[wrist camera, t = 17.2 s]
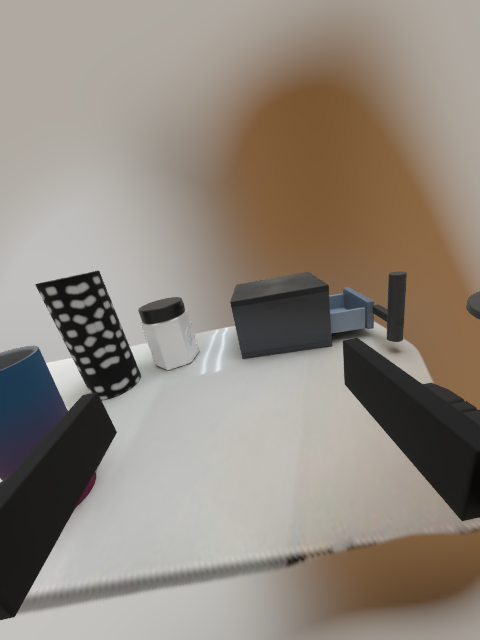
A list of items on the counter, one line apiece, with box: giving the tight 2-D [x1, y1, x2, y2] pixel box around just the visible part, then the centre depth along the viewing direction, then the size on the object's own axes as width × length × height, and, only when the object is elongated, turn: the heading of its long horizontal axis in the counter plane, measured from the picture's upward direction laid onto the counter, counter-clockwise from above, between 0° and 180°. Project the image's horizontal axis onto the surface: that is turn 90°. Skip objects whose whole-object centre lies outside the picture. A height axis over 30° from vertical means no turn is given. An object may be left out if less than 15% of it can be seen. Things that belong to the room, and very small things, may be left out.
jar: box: [138, 297, 199, 370], centre depth 45 cm, size 9×8×12 cm
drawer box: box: [231, 272, 332, 359], centre depth 45 cm, size 16×14×11 cm
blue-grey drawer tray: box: [329, 272, 407, 342], centre depth 41 cm, size 16×18×10 cm
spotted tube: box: [36, 271, 141, 400], centre depth 38 cm, size 8×8×20 cm
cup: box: [0, 346, 96, 506], centre depth 21 cm, size 7×7×15 cm
